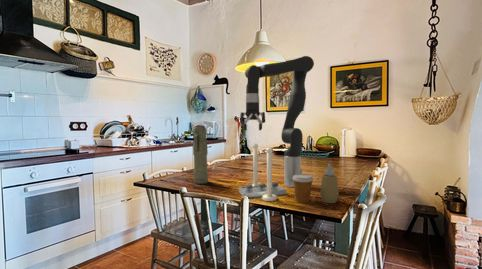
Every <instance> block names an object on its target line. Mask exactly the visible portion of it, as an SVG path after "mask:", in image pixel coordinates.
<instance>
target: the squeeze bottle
mask: <svg viewBox="0 0 482 269" xmlns="http://www.w3.org/2000/svg"><path fill="white" fill-rule="evenodd" d="M332 167H333V166H332V163H331V162H329V163H327V168H326V169H325V170H324V172H323V175H322V177H321V184H320V191H319V192H320V197H321V200H322V202H323V203H325V204H326V203H327V204H336V203H337V202H338V201H337V200H338V197H339V186H338V184H339V183H338V177H337V176H336V171H335V170H333V168H332Z"/></svg>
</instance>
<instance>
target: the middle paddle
mask: <svg viewBox="0 0 482 269" xmlns="http://www.w3.org/2000/svg"><path fill="white" fill-rule="evenodd" d="M258 185H259V188H265V187H266V185H267V184H265V182H260V183H258Z"/></svg>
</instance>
